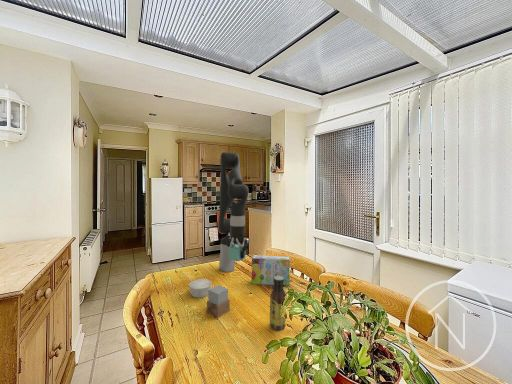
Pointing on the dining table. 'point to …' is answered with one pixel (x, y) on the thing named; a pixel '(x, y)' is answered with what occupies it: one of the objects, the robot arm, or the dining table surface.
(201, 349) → the dining table surface
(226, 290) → the block
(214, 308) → the tower base
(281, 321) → the sauce bottle
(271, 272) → the snack box
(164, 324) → the dining table surface
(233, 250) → the teal cube
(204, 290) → the ramekin
